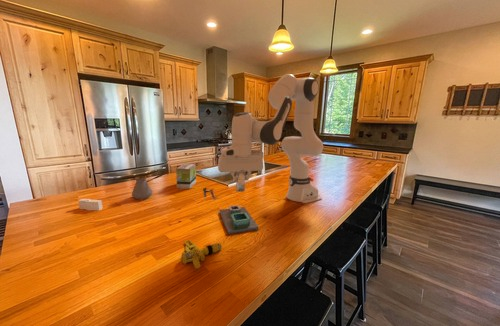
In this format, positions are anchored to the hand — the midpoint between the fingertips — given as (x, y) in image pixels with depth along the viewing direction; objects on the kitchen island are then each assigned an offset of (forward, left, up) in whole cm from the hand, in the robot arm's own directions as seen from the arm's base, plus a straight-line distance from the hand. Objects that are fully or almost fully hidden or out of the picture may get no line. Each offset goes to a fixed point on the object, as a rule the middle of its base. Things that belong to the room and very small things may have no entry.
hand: (240, 180), depth 92 cm
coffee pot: (+44, -50, -22) cm, 70 cm away
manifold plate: (0, -5, -22) cm, 22 cm away
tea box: (+22, -66, -22) cm, 73 cm away
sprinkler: (+20, +16, -23) cm, 34 cm away
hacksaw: (+7, -43, -23) cm, 49 cm away
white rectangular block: (+73, -40, -23) cm, 86 cm away
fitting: (0, 0, -5) cm, 5 cm away
